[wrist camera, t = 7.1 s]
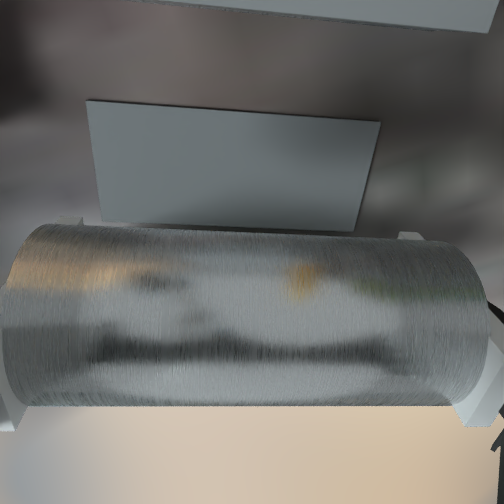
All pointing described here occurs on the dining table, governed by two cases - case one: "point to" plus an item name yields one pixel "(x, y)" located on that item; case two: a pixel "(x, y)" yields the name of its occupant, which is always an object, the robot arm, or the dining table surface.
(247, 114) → the mat
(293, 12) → the stone slab
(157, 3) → the roller bed
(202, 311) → the roller
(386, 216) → the dining table surface
